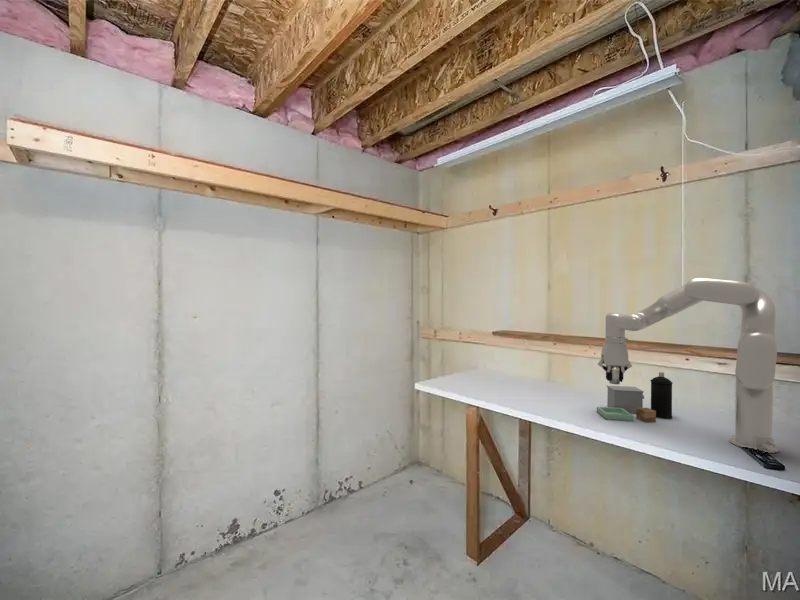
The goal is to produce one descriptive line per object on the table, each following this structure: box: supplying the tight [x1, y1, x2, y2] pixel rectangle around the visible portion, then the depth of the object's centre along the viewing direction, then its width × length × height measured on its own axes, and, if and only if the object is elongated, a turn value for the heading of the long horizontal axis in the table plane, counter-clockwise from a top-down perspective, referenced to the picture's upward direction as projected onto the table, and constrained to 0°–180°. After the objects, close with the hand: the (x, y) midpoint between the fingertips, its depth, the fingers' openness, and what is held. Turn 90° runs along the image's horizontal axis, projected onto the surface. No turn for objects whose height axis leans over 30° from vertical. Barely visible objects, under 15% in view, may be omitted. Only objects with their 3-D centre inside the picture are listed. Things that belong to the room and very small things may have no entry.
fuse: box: [608, 366, 621, 385], centre depth 158 cm, size 4×4×9 cm
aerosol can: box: [650, 371, 674, 420], centre depth 159 cm, size 8×8×20 cm
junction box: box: [606, 385, 645, 414], centre depth 167 cm, size 9×14×11 cm, turn 80°
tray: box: [596, 406, 635, 422], centre depth 158 cm, size 11×11×2 cm
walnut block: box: [635, 407, 657, 424], centre depth 153 cm, size 5×5×5 cm
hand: (614, 380), depth 158 cm, fingers closed on fuse, 4 cm apart
